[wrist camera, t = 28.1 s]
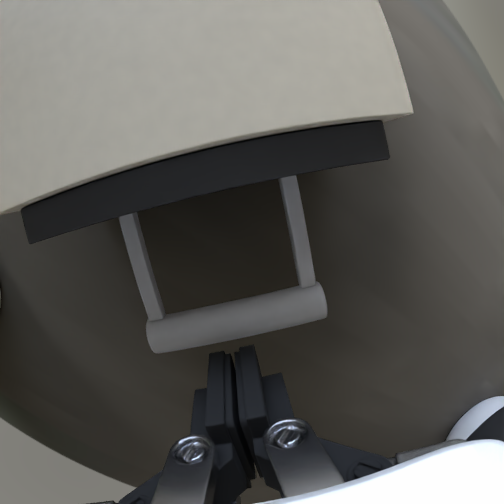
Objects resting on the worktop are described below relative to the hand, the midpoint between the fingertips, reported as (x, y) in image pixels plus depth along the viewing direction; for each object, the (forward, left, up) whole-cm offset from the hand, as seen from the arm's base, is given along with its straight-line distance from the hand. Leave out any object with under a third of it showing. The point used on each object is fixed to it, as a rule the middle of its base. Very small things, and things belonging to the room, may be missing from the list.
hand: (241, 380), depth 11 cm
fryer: (0, +15, -6) cm, 17 cm away
